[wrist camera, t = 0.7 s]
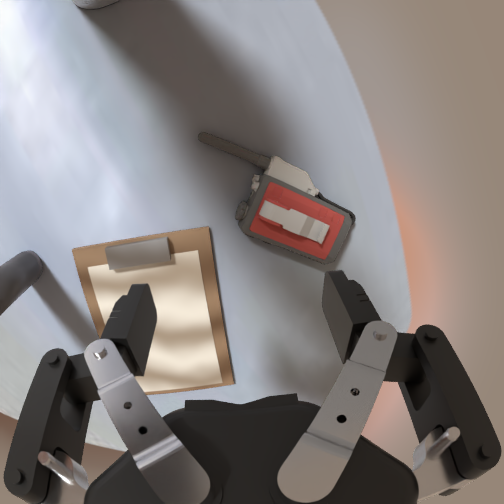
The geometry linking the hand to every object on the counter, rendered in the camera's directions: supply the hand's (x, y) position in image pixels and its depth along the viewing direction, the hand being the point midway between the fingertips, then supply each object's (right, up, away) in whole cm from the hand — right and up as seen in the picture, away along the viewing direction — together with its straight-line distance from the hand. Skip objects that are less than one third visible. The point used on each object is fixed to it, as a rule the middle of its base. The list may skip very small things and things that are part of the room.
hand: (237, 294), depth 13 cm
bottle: (-26, 0, +16) cm, 31 cm away
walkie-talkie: (+3, +8, +20) cm, 21 cm away
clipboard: (-11, -7, +21) cm, 25 cm away
